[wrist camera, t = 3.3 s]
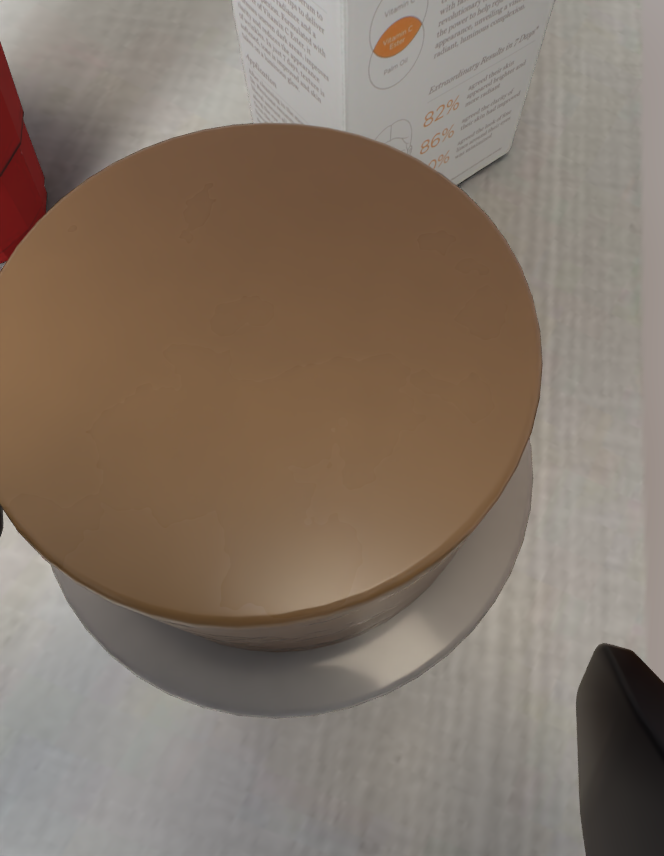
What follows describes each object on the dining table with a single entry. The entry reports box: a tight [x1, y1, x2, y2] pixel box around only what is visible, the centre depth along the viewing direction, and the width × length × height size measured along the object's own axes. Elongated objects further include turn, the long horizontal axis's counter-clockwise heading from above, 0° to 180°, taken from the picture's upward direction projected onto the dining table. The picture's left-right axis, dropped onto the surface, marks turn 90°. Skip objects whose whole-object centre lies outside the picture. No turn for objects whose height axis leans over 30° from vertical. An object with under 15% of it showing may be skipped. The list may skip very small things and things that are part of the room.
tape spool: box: [0, 123, 542, 718], centre depth 11 cm, size 6×6×14 cm
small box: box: [231, 0, 555, 185], centre depth 19 cm, size 8×6×10 cm
